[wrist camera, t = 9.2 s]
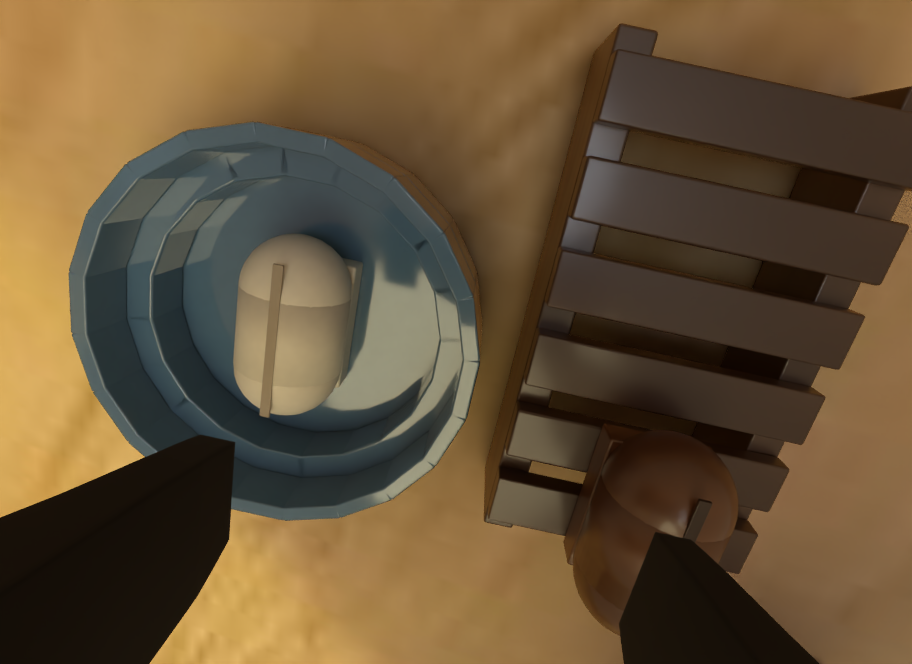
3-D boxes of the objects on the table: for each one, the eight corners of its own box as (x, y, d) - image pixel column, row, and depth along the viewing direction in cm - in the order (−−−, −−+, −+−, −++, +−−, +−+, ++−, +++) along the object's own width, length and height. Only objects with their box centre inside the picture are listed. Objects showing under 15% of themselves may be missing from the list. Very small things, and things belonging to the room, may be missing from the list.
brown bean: (655, 582, 16) (695, 685, 13) (553, 560, 16) (567, 657, 13) (723, 422, 14) (790, 496, 11) (608, 396, 14) (641, 464, 11)
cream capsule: (346, 397, 19) (315, 445, 16) (257, 377, 19) (208, 422, 16) (370, 239, 17) (341, 256, 14) (271, 218, 17) (219, 230, 14)
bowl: (445, 482, 20) (434, 554, 17) (154, 418, 20) (77, 475, 17) (516, 176, 16) (523, 180, 13) (158, 98, 16) (58, 78, 13)
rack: (687, 513, 20) (731, 591, 16) (484, 468, 20) (482, 537, 16) (860, 108, 15) (979, 89, 11) (594, 50, 15) (626, 13, 12)
